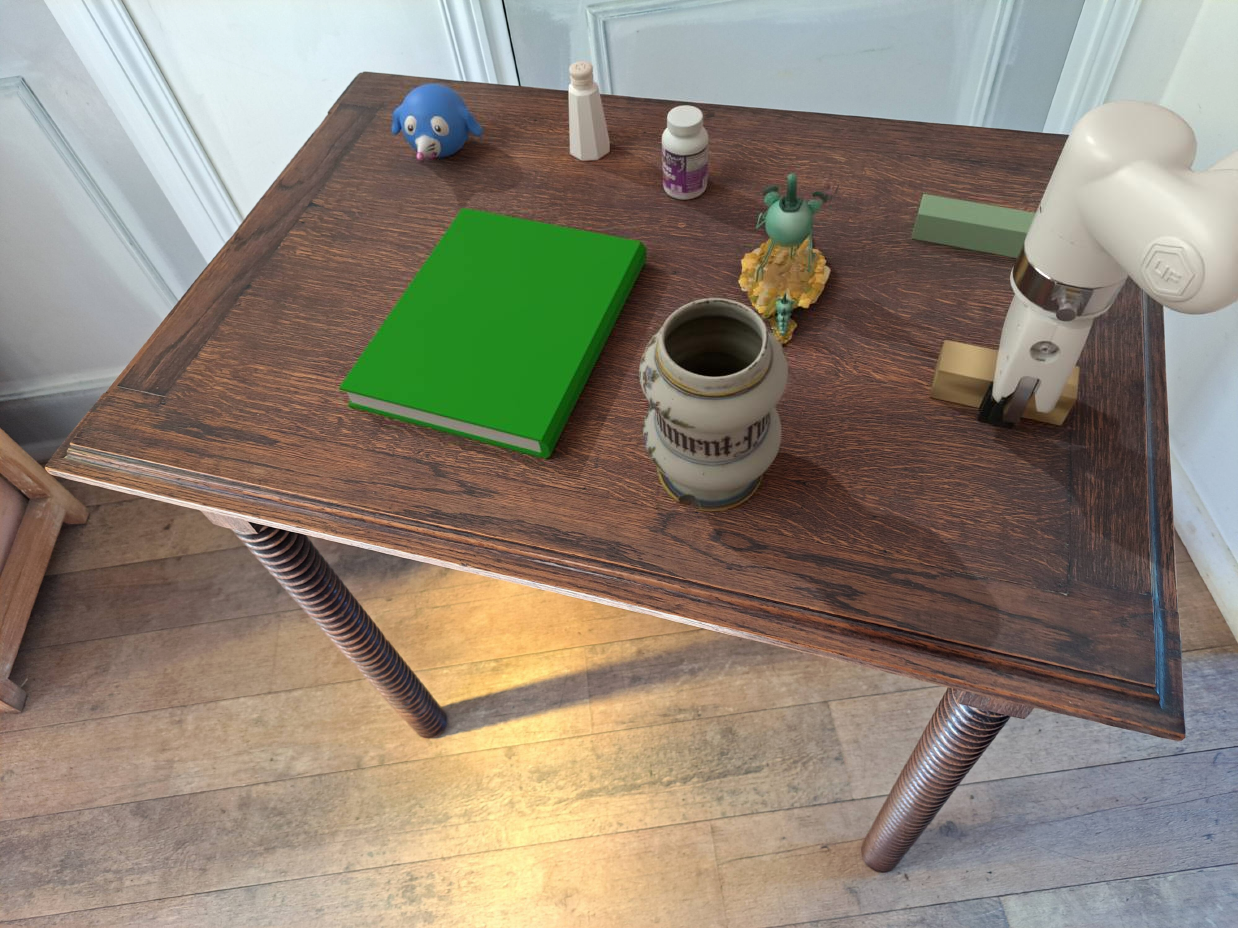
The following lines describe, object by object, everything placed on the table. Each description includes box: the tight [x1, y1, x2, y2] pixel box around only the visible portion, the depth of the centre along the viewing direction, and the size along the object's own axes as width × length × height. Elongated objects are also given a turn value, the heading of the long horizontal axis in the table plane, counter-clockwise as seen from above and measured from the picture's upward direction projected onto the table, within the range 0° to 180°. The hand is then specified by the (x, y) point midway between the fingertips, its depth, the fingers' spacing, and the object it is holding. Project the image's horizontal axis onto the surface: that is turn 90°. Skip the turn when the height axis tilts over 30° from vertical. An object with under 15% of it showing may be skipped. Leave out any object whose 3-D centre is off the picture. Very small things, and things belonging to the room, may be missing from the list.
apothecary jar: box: [638, 297, 789, 512], centre depth 72 cm, size 12×12×18 cm
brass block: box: [928, 339, 1080, 426], centre depth 80 cm, size 12×4×4 cm, turn 70°
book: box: [338, 207, 647, 460], centre depth 90 cm, size 22×28×3 cm
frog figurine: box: [738, 173, 831, 346], centre depth 87 cm, size 10×18×15 cm, turn 159°
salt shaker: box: [568, 60, 611, 162], centre depth 104 cm, size 5×5×11 cm
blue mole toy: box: [390, 83, 484, 162], centre depth 106 cm, size 12×12×8 cm
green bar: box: [910, 193, 1036, 259], centre depth 92 cm, size 16×4×4 cm, turn 69°
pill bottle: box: [661, 104, 709, 201], centre depth 99 cm, size 5×5×10 cm
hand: (995, 418), depth 79 cm, fingers closed
